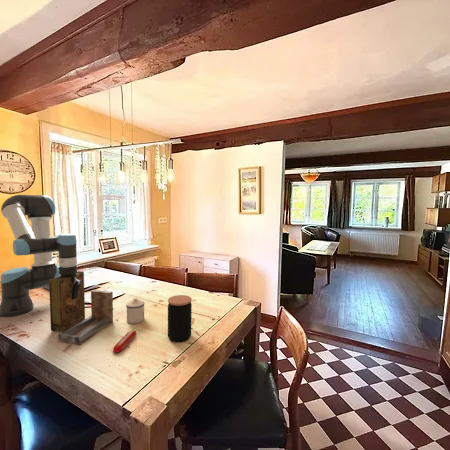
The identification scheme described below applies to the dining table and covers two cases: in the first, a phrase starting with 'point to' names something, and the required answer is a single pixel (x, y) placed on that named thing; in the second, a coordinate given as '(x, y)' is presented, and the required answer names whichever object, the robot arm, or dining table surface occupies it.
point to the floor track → (98, 310)
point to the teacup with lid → (135, 311)
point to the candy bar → (124, 341)
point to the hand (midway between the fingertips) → (69, 312)
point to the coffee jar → (179, 318)
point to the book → (66, 303)
